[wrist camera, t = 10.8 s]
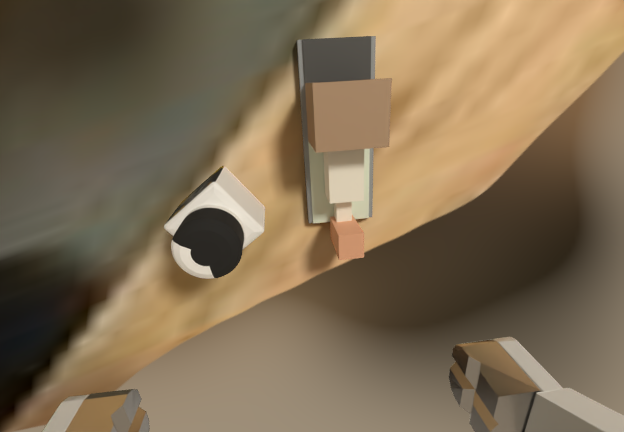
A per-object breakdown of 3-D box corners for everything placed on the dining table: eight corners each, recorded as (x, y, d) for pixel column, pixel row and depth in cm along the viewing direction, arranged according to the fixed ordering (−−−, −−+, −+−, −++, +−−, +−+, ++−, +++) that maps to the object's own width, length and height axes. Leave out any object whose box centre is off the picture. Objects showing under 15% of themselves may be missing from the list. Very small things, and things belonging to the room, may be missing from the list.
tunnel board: (296, 41, 33) (303, 29, 26) (372, 37, 34) (399, 25, 27) (308, 220, 41) (316, 248, 34) (369, 213, 41) (390, 240, 34)
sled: (322, 142, 36) (331, 152, 31) (356, 140, 36) (369, 149, 31) (326, 238, 41) (334, 260, 36) (356, 235, 41) (368, 256, 36)
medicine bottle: (223, 163, 37) (204, 198, 26) (266, 207, 39) (265, 255, 28) (180, 203, 38) (143, 252, 27) (224, 242, 40) (207, 302, 29)
